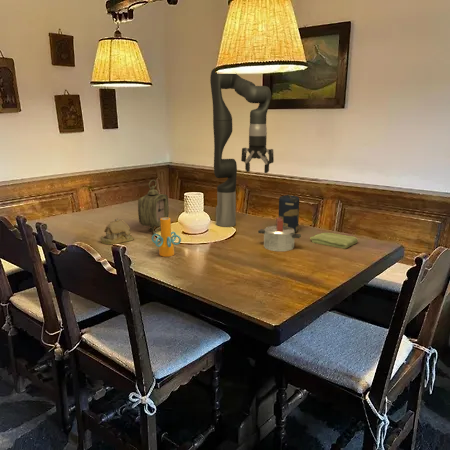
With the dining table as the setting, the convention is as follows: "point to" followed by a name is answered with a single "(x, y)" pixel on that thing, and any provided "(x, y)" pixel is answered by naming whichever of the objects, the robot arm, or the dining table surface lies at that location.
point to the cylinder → (166, 238)
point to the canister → (289, 211)
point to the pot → (279, 241)
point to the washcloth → (334, 240)
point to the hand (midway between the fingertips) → (257, 172)
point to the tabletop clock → (152, 208)
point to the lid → (279, 229)
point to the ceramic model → (117, 233)
